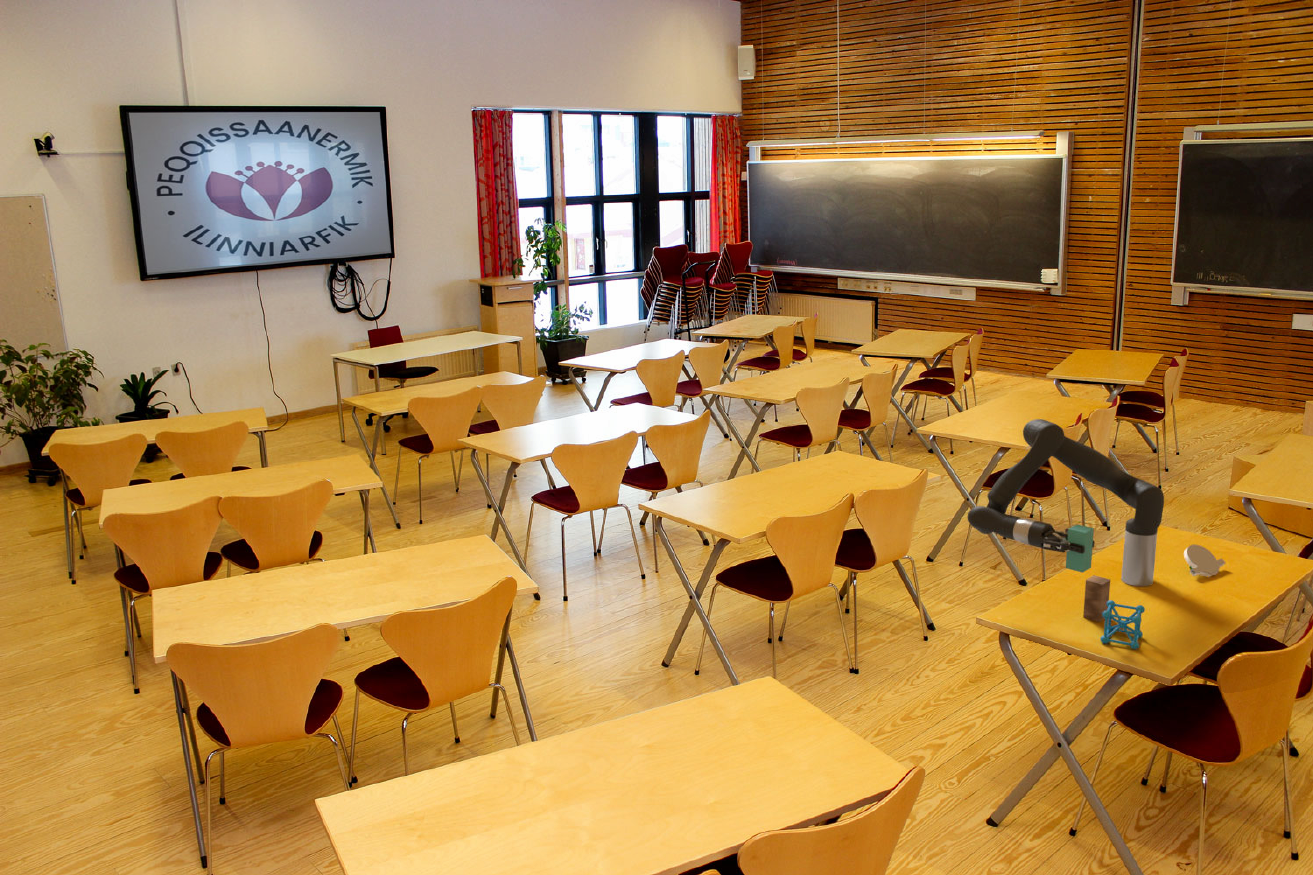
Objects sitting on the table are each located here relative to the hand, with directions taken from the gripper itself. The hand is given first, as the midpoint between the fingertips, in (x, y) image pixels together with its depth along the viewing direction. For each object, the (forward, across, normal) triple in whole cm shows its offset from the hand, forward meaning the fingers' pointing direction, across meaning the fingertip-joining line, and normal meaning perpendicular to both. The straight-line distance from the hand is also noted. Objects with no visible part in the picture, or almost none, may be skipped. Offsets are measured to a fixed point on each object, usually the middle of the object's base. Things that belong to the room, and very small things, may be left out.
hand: (1088, 547), depth 284 cm
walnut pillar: (-3, +13, +27) cm, 30 cm away
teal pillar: (-3, 0, +7) cm, 7 cm away
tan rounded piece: (+6, +68, +27) cm, 73 cm away
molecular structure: (+10, +4, +27) cm, 29 cm away
